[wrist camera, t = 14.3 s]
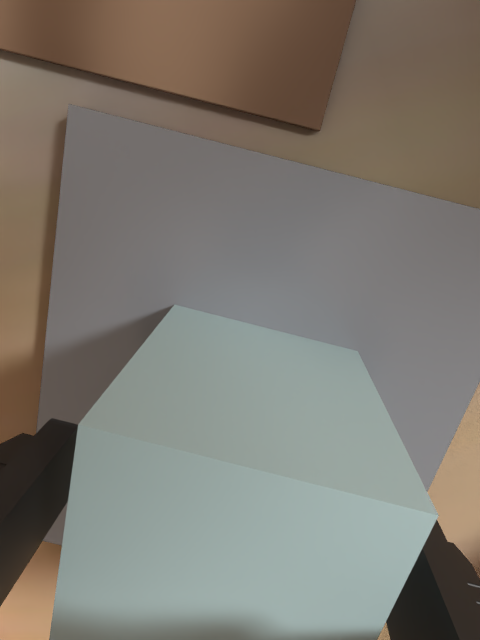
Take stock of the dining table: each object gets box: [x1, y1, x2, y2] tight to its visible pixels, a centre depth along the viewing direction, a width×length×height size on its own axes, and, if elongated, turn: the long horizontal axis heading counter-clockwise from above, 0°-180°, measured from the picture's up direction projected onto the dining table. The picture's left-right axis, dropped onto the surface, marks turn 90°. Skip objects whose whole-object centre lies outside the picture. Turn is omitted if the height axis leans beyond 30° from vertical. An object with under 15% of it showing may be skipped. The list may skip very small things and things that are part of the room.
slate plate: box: [36, 104, 480, 545], centre depth 15 cm, size 14×16×1 cm
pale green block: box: [49, 305, 439, 640], centre depth 11 cm, size 6×6×7 cm
